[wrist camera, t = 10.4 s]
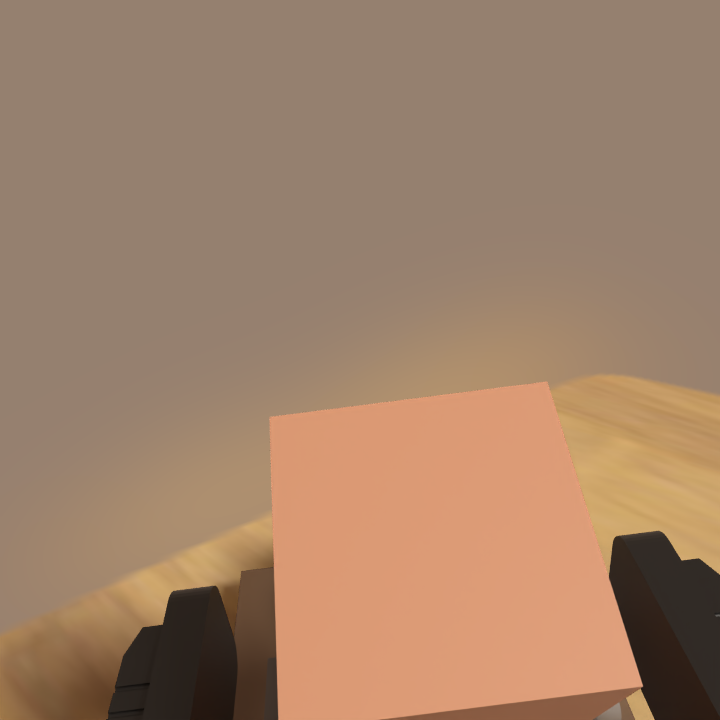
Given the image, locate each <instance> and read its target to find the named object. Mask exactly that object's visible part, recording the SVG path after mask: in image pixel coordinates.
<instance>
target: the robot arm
mask: <svg viewBox="0 0 720 720" xmlns="http://www.w3.org/2000/svg"><path fill="white" fill-rule="evenodd" d="M609 580H610V583H611V586H612V589H613V592H614V596H615V599H616V602H617V605H618V608H619V611H620V615H621V618H622V621H623V624H624V627H625V631H626V634H627V637H628V640H629V643H630V646H631V650H632V653H633V656H634V659H635V662H636V666H637V669H638V672H639V675H640V678H641V681H642V685H643V687H641V690H642V693H643V695H644V697H645V699H646V701H647V704H648V706H649V708H650V710H651V712H652V715H653V717H654V719H655V720H720V575H719V574H718V573H717V572H716V571H714V570H713V569H712V568H711V567H709V566H708V565H707V564H706V563H704V562H703V561H702V560H700V559H699V558H698V559H690V560H683V561H681V559H680V557H679V556H678V554H677V553H676V551H675V549H674V548H673V546H672V544H671V543H670V541H669V540H668V538H667V537H666V536H665V534H663V533H662V532H660V531H653V532H645V533H638V534H630V535H622V536H616V537H615V538H614V541H613V546H612V555H611V564H610V573H609ZM237 673H238V663H237V650H236V644H235V640H234V636H233V633H232V630H231V627H230V624H229V621H228V617H227V614H226V611H225V608H224V605H223V602H222V599H221V596H220V593H219V590H218V588H217V587H216V586H209V587H201V588H193V589H185V590H177V591H173V592H172V593H171V595H170V597H169V600H168V604H167V608H166V613H165V617H164V622H163V625H158V626H150V627H143V628H142V629H141V631H140V632H139V634H138V635H137V637H136V638H135V640H134V641H133V643H132V644H131V645H130V647H129V648H128V650H127V651H126V653H125V654H124V656H123V659H122V663H121V667H120V670H119V674H118V678H117V681H116V685H115V693H113V696H112V700H111V704H110V707H109V711H108V715H109V716H108V719H106V720H233V715H234V705H235V695H236V685H237Z"/></svg>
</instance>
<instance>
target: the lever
mask: <svg viewBox="0 0 720 720" xmlns="http://www.w3.org/2000/svg"><path fill="white" fill-rule="evenodd" d="M270 449H271V482H272V518H273V552H274V586H275V620H276V654H277V688H278V720H593V719H595V718H596V717H598V716H599V715H601V714H602V713H604V712H605V711H607V710H608V709H610V708H611V707H613V706H614V705H616V704H617V703H619V702H620V701H622V700H623V699H625V698H626V697H628V696H629V695H631V694H632V693H634V692H635V691H637V690H638V689H640V688H641V687H643V685H642V681H641V678H640V675H639V672H638V669H637V666H636V662H635V659H634V656H633V653H632V650H631V646H630V643H629V640H628V637H627V634H626V631H625V627H624V624H623V621H622V618H621V615H620V611H619V608H618V605H617V602H616V599H615V596H614V592H613V589H612V586H611V583H610V580H609V577H608V573H607V570H606V567H605V564H604V561H603V557H602V554H601V551H600V548H599V545H598V542H597V538H596V535H595V532H594V529H593V526H592V522H591V519H590V516H589V513H588V510H587V507H586V503H585V500H584V497H583V494H582V491H581V487H580V484H579V481H578V478H577V475H576V472H575V468H574V465H573V462H572V459H571V456H570V452H569V449H568V446H567V443H566V440H565V437H564V433H563V430H562V427H561V424H560V421H559V418H558V414H557V411H556V408H555V405H554V402H553V398H552V395H551V392H550V389H549V386H548V383H547V382H540V383H532V384H525V385H517V386H509V387H501V388H493V389H485V390H477V391H469V392H462V393H454V394H446V395H438V396H430V397H422V398H415V399H407V400H399V401H391V402H383V403H376V404H369V405H368V404H367V405H361V406H352V407H345V408H337V409H329V410H320V411H313V412H305V413H297V414H289V415H281V416H274V417H270Z"/></svg>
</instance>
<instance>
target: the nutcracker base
mask: <svg viewBox="0 0 720 720" xmlns="http://www.w3.org/2000/svg"><path fill="white" fill-rule="evenodd" d="M234 640H235V644H236V650H237V663H238V673H237V685H236V695H235V705H234V715H233V720H278V688H277V654H276V620H275V586H274V567H271V568H263V569H255V570H247V571H241V580H240V589H239V598H238V606H237V615H236V624H235V633H234ZM593 720H635V718H634V716H633V714H632V711H631V709H630V707H629V704H628V702H627V700H626V698H625V699H623V700H622V701H620V702H619V703H617V704H616V705H614V706H613V707H611V708H610V709H608V710H607V711H605V712H604V713H602V714H601V715H599V716H598V717H596V718H595V719H593Z"/></svg>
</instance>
